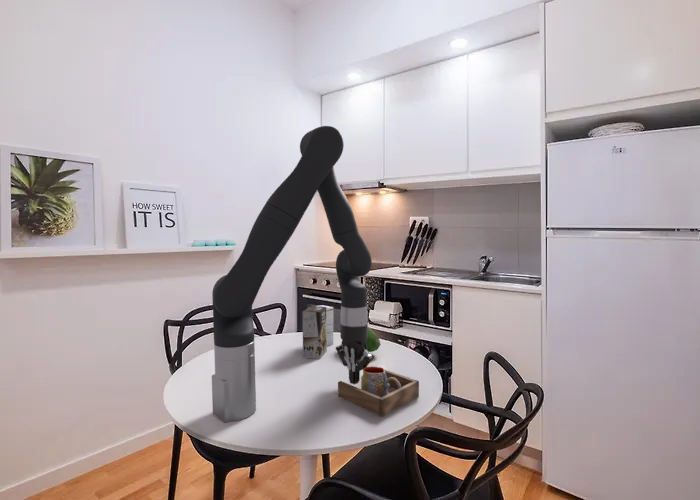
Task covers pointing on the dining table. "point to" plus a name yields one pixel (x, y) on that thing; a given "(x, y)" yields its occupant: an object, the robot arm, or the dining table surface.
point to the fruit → (372, 341)
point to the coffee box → (314, 332)
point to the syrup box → (329, 324)
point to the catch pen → (384, 403)
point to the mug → (376, 381)
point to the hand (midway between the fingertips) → (354, 383)
